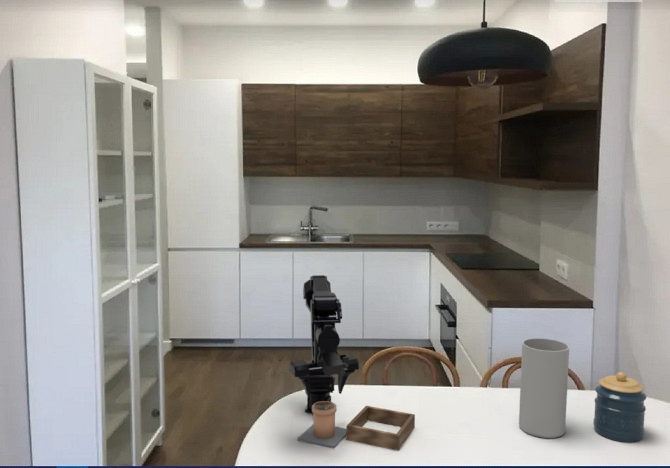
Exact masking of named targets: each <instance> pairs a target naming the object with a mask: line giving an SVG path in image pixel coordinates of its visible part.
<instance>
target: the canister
mask: <svg viewBox="0 0 670 468" xmlns="http://www.w3.org/2000/svg"><path fill="white" fill-rule="evenodd" d="M594 390H595V392H596V397H595V398H594V415H593V416H594V417H593V428H594V431H595V432H596V433H597V434H599V435H600V436H602V437H604V438H607V439H610V440H614V441H618V442H625V443H634V442H638V441H641V440H642V439H643V437H644V435H645V414H646V413H645V412H646V410H647V409H646V406H645V400H646V399H647V394H646V393H645V392H644V386H643V384H641V383H639V382H638V381H637V380H636V379H635V378H631V377H627V374H626V373H625V372H622V371H619V372H617V373H616V374H615V375H613V374H612V375H610V374H609V375H606V376H605V377H602V378H600V379H599V380H598V385H597V386H595V389H594Z"/></svg>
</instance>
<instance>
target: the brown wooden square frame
mask: <svg viewBox="0 0 670 468" xmlns="http://www.w3.org/2000/svg"><path fill="white" fill-rule="evenodd" d="M368 420H369V422H374V421H375V422H374V423H379V424H380V423H381V424H385V425H390V426H395V427H400V428H399V429H398V431H397V432H396V433H394V432H389V431H384V430H378V429H374V428H369V427H363V426H365V424H366V423H367V422H368ZM415 423H416V414H414V413H409V412H403V411H398V410H392V409H387V408H382V407H375V406H371V405H365V406H364V407H363V408H362V409H361V410H360V411H359V413H357V414H356V415H355V416H354V417H353V419H351V421H350V422H349V423H347V424H346V428H345V429H346V436H345V437H346V440H347V441H352V442H355V443H356V442H357V443H361V444H366V445H370V446H376V447H380V448H385V449H390V450H394V451H399V450H400V449H402V447H403V445H404V444H405V442H406V440H407V439H408V438H409V437H410V435H411V433H412V432H413V431H414V429H415V428H416V427H415V426H416V424H415Z"/></svg>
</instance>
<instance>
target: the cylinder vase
mask: <svg viewBox="0 0 670 468" xmlns="http://www.w3.org/2000/svg"><path fill="white" fill-rule="evenodd" d="M521 343H522V344H521V365H520V366H521V368H520V389H519V390H520V392H519V411H518V412H519V414H518V425H519V428H520V429H521V430H522V431H523V432H524V433H526V434H529V435H531V436H533V437H536V438H537V437H538V438H545V439H553V438H555V439H556V438H558V437H562V436H563V435H564V434H565V432H566V422H567V420H566V419H567V402H568V401H567V399H568V382H569V380H568V379H569V363H570V362H569V361H570V360H569V359H570V346H569V344H568V343H565V342H563V341H560V340H557V339H556V340H555V339H550V338H543V337H542V338H541V337H537V338H536V337H534V338H526V339H524V340H522V342H521Z"/></svg>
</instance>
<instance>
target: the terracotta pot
mask: <svg viewBox="0 0 670 468" xmlns="http://www.w3.org/2000/svg"><path fill="white" fill-rule="evenodd" d="M312 412H313V413H312V414H313V424H314V436H315V437H317V438H321V439H327V438H331V437H333V436H334V435H335V426H336V413H337V404H336V403H334V402H332V401H331V402H329V401H320V402H316V403H314V404H313V405H312Z"/></svg>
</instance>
